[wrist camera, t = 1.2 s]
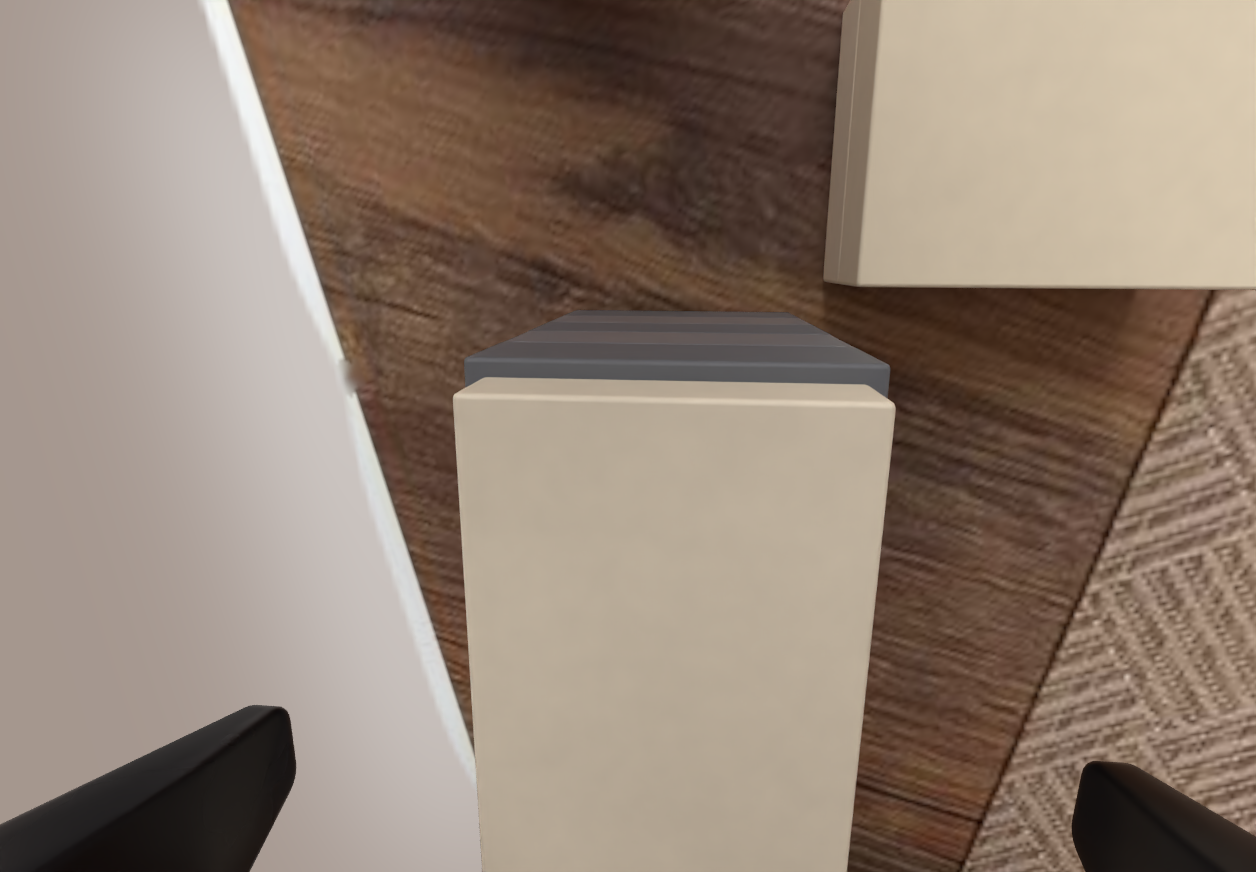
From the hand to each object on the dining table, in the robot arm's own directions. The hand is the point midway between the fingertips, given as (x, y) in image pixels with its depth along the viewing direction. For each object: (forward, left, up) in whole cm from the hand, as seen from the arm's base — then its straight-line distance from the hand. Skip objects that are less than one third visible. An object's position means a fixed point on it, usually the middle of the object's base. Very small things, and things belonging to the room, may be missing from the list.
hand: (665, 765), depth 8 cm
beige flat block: (0, 0, -2) cm, 2 cm away
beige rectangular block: (+8, -7, -11) cm, 15 cm away
